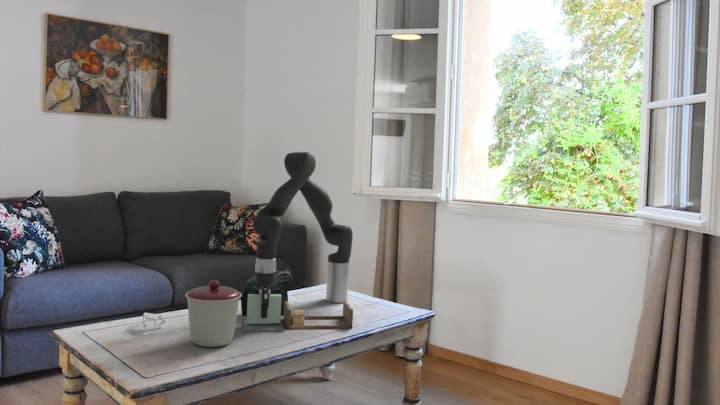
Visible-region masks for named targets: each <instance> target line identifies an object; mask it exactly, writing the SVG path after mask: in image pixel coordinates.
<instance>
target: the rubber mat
mask: <svg viewBox="0 0 720 405" xmlns="http://www.w3.org/2000/svg"><path fill="white" fill-rule="evenodd" d="M242 322H243V323H242V324H243V330H244V332H245V333H251V332H255V333H257V332H258V333H260V332H261V333H265V332H266V333H267V332H269V333H271V332H273V333H274V332H275V333H276V332H278V333H279V332H281V333H282V332H285V328H284V325H283V322H282V318H281V319H280V323H247V318H246V319H243V320H242Z"/></svg>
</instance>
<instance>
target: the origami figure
mask: <svg viewBox="0 0 720 405" xmlns="http://www.w3.org/2000/svg"><path fill="white" fill-rule="evenodd" d="M158 319H159V320H160V321H161V322H160V323H159V324H157V321H158ZM142 320H143V322H142V324H143V327H144V329H145V330H144V332H147V327H146V326H148V325H147V323H146V321H148V320H149V321H153V322H154V325H153V328H152V330H153V334H155V333H156V327H158V328H160V329H163V327H162V325H163V324H165V323H166V322H167V320H166V319H164V318H163V317H162V314H157V313H151V312H150V313H149V312H143V315H142Z"/></svg>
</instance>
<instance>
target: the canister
mask: <svg viewBox="0 0 720 405" xmlns="http://www.w3.org/2000/svg"><path fill="white" fill-rule="evenodd" d="M220 284H221V283H220V281H219V280H217V279H212V280H210V281H209V282H208V285H204V286H198V287H194V288H192V289H190V290H189V291H187V292H186V293H185V296H184V297H186V298H187V308H188V309H187V310H188V322H189V323H188V324H189V331H190V339H191V340H192V342H193V343H194V344H195V345H196V346H199V347H205V348H217V347H223V346H227V345H228V344H230V343H231V341H232V340H233V338H234V335H235V329H236V325H237V323H236V322H237V318H238V311H239V304H240V299H241V296H242V294H241V292H240V291H238V290H237V289H236V288H232V287H229V286H224V285H220Z"/></svg>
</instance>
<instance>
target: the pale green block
mask: <svg viewBox="0 0 720 405" xmlns="http://www.w3.org/2000/svg"><path fill="white" fill-rule="evenodd" d="M263 304H267V303H263ZM281 316H282V315H281V294H270V301H269V307H268V309H267V318H261V301H260V294H248V303H247V316H246V319H247V323H280V319H281V320H282V318H281Z"/></svg>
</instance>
